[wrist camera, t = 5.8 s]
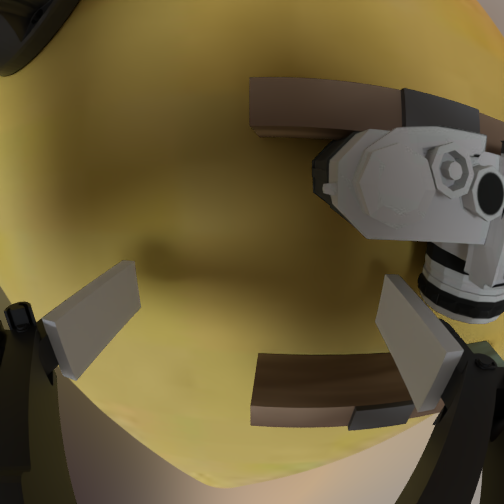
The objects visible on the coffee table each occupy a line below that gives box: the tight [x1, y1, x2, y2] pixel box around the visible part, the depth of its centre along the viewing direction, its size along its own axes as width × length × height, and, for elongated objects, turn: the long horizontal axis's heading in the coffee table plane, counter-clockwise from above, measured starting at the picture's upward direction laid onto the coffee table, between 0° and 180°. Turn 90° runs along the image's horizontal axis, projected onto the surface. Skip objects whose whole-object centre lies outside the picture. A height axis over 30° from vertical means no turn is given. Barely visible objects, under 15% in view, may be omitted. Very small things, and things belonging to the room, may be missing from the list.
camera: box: [312, 125, 504, 324], centre depth 10 cm, size 16×9×10 cm, turn 90°
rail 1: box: [249, 77, 504, 156], centre depth 11 cm, size 2×20×5 cm, turn 90°
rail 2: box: [251, 341, 504, 431], centre depth 16 cm, size 2×20×5 cm, turn 90°
